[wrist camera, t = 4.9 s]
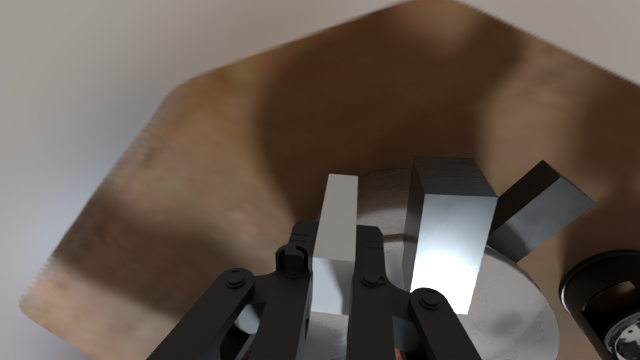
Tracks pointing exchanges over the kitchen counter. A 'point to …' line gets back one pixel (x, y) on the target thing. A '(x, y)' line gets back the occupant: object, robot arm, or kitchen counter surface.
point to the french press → (605, 329)
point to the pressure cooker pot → (509, 216)
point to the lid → (456, 269)
